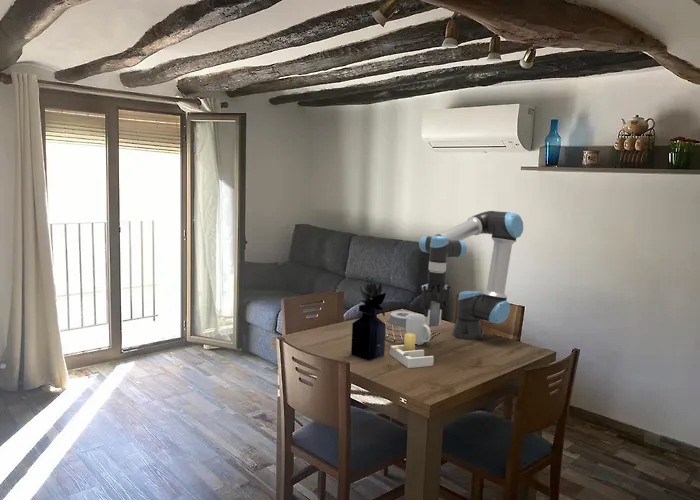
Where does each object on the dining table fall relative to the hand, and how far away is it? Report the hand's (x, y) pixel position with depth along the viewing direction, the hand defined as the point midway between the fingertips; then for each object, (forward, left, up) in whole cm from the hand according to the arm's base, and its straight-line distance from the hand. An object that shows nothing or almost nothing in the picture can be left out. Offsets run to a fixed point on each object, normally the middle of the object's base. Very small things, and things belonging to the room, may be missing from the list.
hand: (432, 323), depth 240 cm
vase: (+25, -10, -16) cm, 32 cm away
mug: (-5, -20, -16) cm, 27 cm away
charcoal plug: (0, 0, -1) cm, 1 cm away
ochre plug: (+8, -5, -16) cm, 19 cm away
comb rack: (+10, 0, -16) cm, 19 cm away
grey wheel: (-15, -55, -16) cm, 60 cm away
